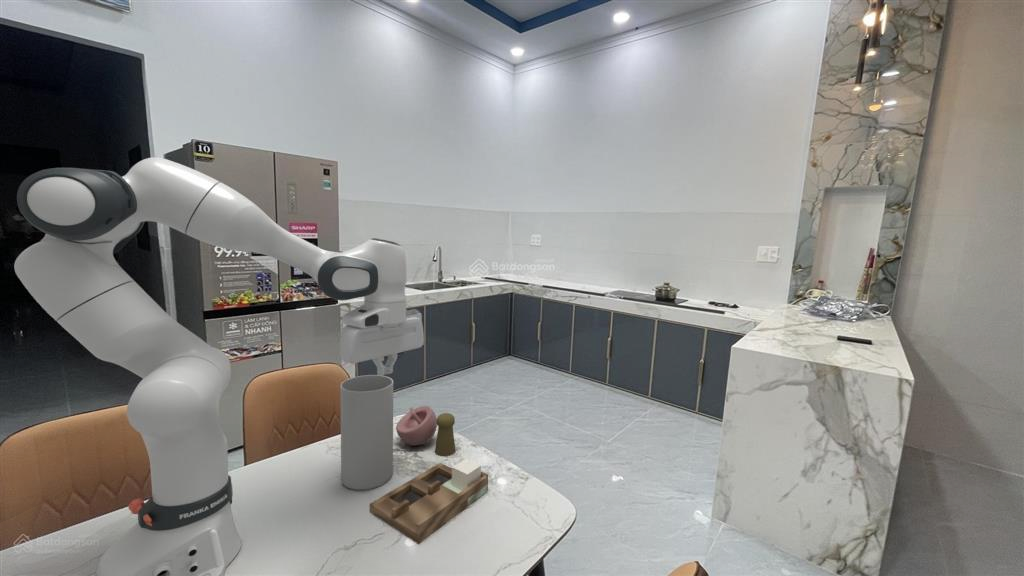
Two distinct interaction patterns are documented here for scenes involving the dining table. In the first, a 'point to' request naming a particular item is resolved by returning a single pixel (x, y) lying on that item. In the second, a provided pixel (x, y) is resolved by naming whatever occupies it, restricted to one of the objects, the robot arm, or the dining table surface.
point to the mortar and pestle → (417, 426)
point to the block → (465, 474)
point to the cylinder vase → (366, 431)
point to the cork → (445, 435)
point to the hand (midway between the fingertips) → (385, 374)
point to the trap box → (426, 502)
